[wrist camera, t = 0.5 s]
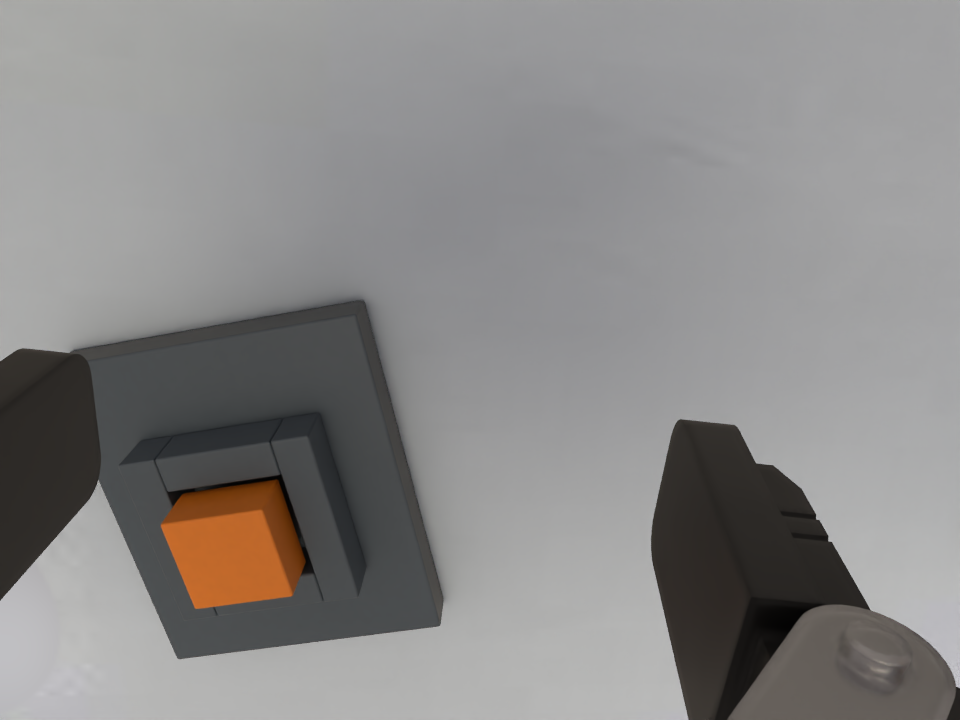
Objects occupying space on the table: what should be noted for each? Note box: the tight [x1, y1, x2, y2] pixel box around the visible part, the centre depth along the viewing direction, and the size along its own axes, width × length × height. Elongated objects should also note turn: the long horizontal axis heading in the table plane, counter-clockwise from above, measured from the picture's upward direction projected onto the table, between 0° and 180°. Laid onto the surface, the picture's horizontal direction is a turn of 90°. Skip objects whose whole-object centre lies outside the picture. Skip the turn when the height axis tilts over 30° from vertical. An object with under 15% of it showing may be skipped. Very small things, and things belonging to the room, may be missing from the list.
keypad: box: [70, 301, 443, 659], centre depth 27 cm, size 12×10×3 cm
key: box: [161, 479, 306, 609], centre depth 25 cm, size 3×3×2 cm
